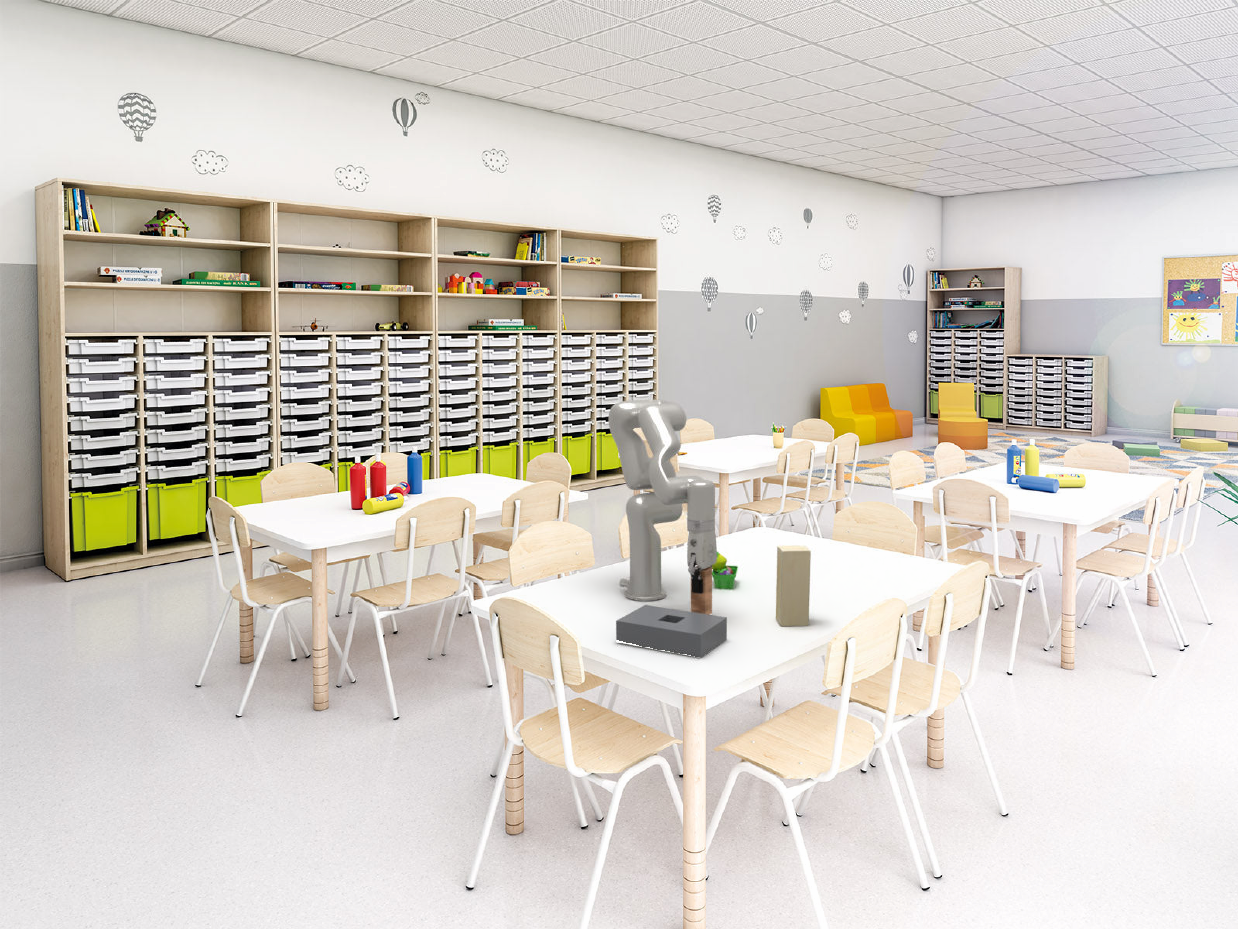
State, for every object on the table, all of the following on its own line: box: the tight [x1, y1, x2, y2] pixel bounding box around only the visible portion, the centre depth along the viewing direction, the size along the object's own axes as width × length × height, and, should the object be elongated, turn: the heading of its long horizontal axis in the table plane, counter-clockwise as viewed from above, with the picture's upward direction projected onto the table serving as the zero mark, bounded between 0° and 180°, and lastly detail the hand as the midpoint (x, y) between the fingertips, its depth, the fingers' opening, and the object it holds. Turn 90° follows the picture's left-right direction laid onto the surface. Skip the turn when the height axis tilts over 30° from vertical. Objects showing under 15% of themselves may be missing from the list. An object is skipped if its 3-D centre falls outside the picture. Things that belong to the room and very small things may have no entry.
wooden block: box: [690, 565, 713, 615], centre depth 253 cm, size 4×4×13 cm
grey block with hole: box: [615, 604, 728, 658], centre depth 238 cm, size 24×16×6 cm, turn 60°
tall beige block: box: [775, 545, 812, 627], centre depth 252 cm, size 8×7×21 cm
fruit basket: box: [712, 551, 739, 590], centre depth 291 cm, size 11×9×11 cm
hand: (701, 590), depth 253 cm, fingers closed on wooden block, 4 cm apart
